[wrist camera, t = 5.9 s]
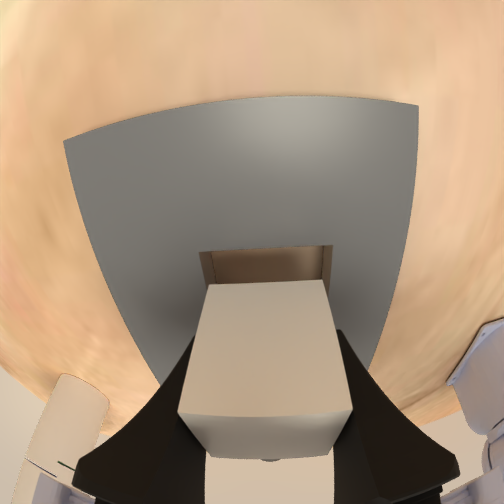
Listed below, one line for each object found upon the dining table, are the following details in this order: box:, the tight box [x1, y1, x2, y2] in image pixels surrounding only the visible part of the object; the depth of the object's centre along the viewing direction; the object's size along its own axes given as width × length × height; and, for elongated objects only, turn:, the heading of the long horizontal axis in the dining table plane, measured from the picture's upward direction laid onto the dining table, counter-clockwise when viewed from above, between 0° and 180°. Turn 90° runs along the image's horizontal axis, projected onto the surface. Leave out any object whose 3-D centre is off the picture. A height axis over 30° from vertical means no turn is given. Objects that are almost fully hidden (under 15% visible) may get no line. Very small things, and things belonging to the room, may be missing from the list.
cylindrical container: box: [11, 374, 110, 504], centre depth 14 cm, size 7×7×25 cm
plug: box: [178, 280, 353, 462], centre depth 10 cm, size 6×4×6 cm
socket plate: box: [63, 96, 419, 386], centre depth 14 cm, size 18×15×2 cm
